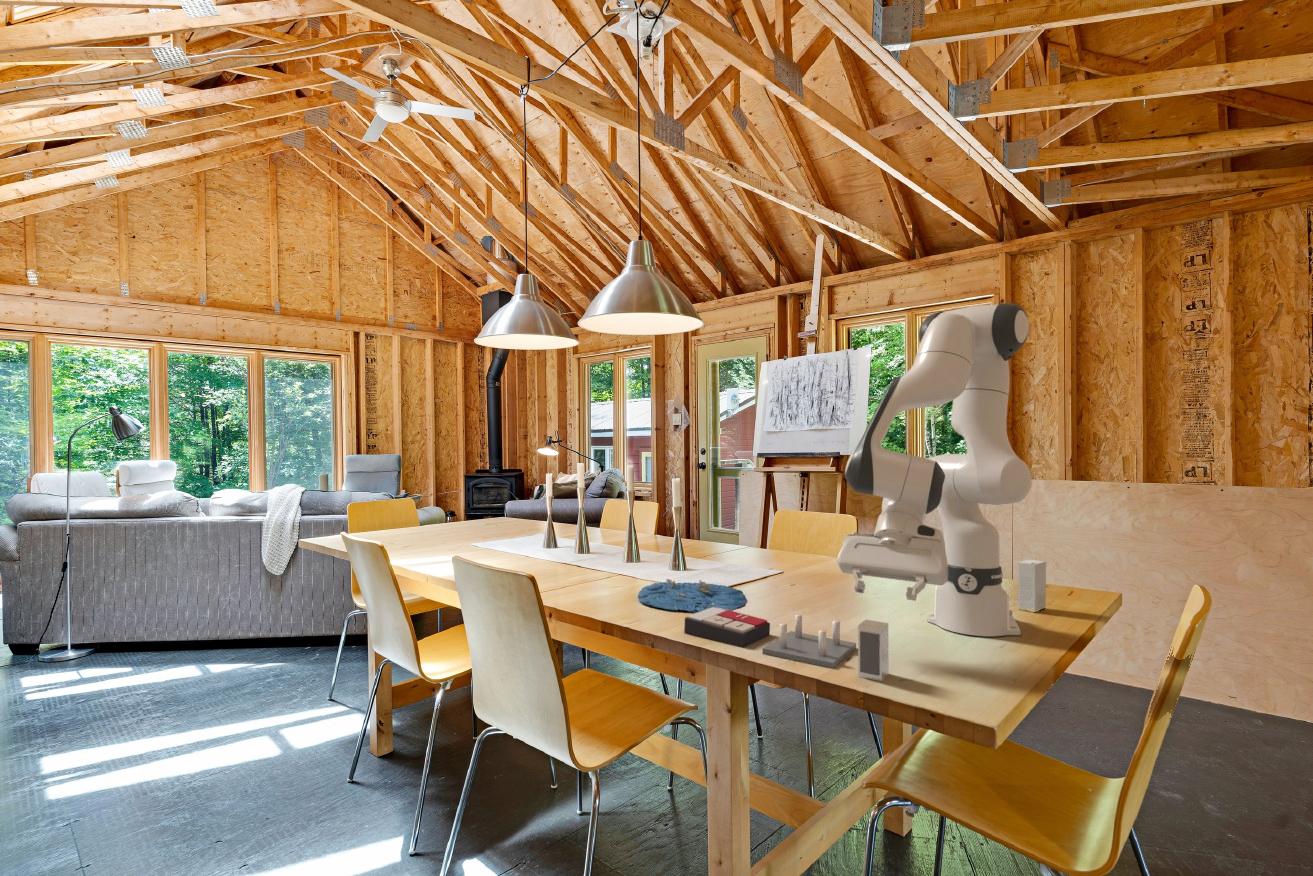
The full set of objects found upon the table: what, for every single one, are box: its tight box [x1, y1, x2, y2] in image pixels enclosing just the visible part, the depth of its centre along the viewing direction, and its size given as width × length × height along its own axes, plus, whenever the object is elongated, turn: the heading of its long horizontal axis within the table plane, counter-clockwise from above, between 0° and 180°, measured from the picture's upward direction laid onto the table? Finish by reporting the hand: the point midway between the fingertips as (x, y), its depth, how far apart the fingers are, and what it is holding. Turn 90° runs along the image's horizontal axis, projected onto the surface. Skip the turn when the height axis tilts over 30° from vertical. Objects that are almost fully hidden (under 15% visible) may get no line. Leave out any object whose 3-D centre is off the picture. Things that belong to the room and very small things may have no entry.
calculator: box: [683, 607, 771, 648], centre depth 133 cm, size 11×4×15 cm
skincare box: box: [1017, 559, 1047, 611], centre depth 153 cm, size 6×4×12 cm
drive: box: [857, 619, 890, 682], centre depth 109 cm, size 5×4×9 cm
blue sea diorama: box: [637, 578, 748, 614], centre depth 164 cm, size 30×30×5 cm
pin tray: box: [761, 613, 857, 669], centre depth 122 cm, size 14×14×6 cm
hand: (884, 594), depth 115 cm, fingers open, 8 cm apart
